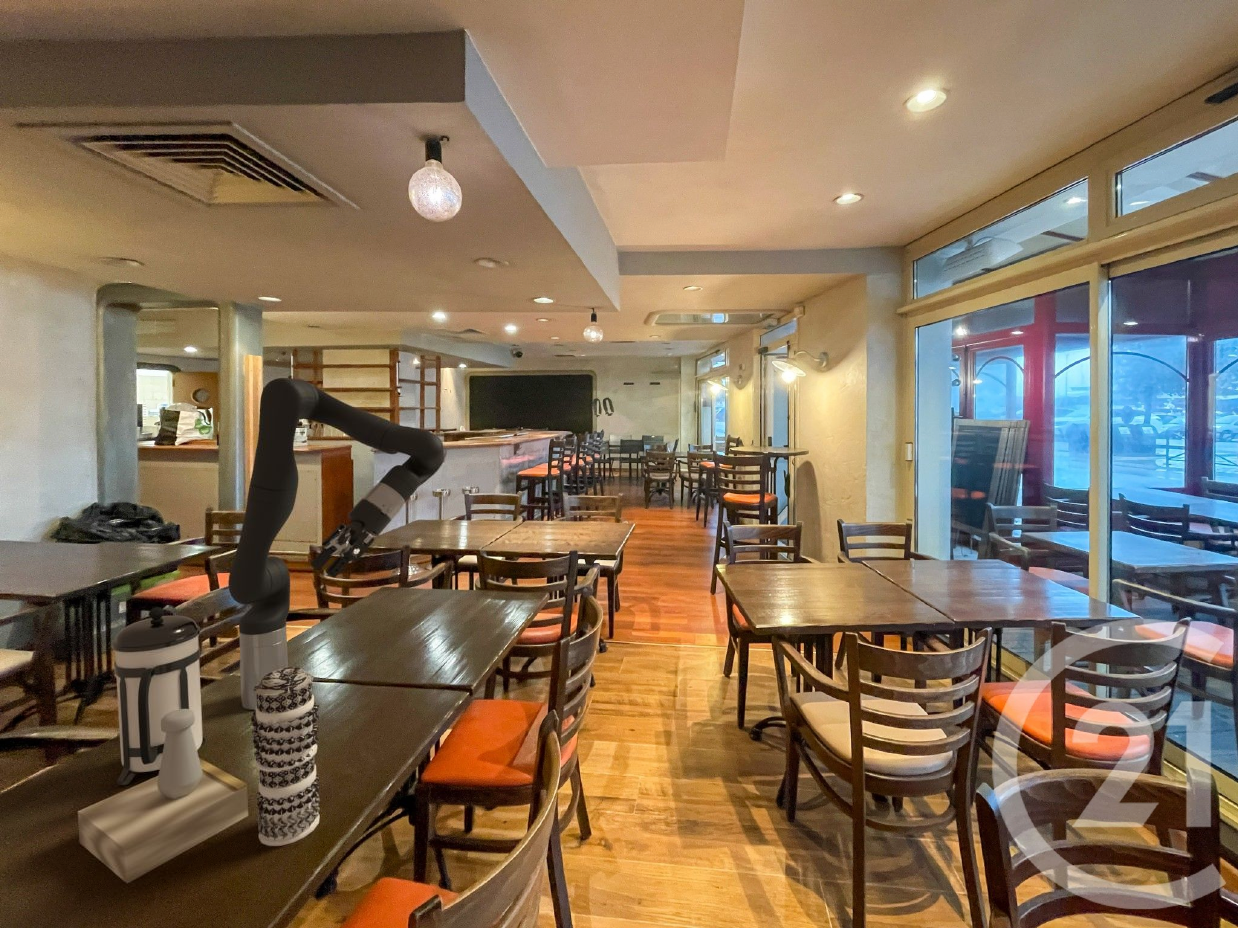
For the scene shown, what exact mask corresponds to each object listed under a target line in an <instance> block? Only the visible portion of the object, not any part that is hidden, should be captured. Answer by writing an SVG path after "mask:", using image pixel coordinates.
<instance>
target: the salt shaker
mask: <svg viewBox="0 0 1238 928" xmlns="http://www.w3.org/2000/svg"><path fill="white" fill-rule="evenodd" d="M194 721H195V717H194V713H193V711H192V710H190V709H180V710H175V711H172V712H170V713H168V714H166V715H165V716H164V717H163V718H162V719H161V730H162V732H165V733H166V737H165V743H164V749H163V755H162V760H161V765H160V769H159V771H158V775H157V776H158V781H157V787H158V789H159V791H160V792H161V793H162V795H163V796H164V797H165V798H167V799H173V800H175V799H178V798H181V797H184V796H187V795H190V794H191V793H192V792H193V791H194V790H195V789H196V788H197V787H198V784H199V782H200V779H201V777H202V773H203V771H202V767H201V764H200V760H199V758H200V757H199V753H198V750H197V749H196V745H195V742H194V738H193V734H192V731H191V727H190V726H192V725H193V724H194Z"/></svg>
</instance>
